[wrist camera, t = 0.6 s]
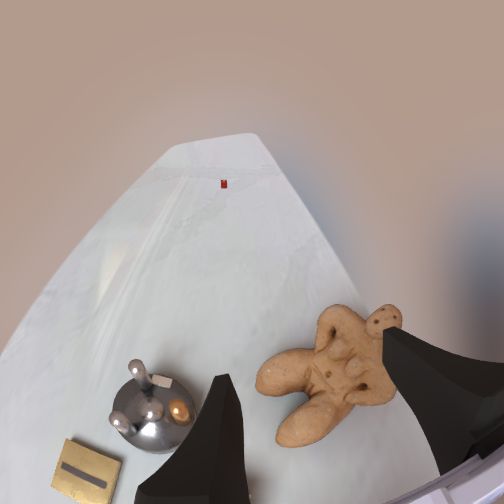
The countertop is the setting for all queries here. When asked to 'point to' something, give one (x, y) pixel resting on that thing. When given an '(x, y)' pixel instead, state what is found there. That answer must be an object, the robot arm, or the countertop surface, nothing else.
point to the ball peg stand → (152, 411)
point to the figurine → (331, 373)
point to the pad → (85, 474)
